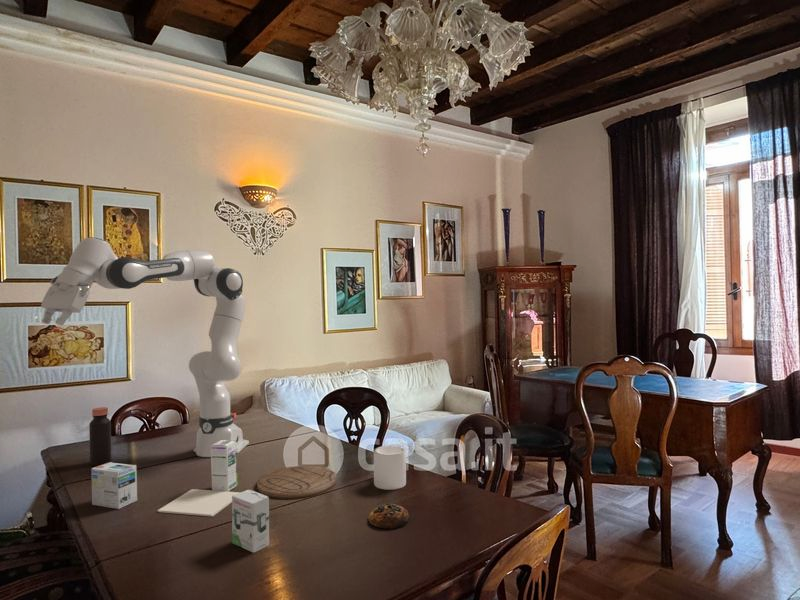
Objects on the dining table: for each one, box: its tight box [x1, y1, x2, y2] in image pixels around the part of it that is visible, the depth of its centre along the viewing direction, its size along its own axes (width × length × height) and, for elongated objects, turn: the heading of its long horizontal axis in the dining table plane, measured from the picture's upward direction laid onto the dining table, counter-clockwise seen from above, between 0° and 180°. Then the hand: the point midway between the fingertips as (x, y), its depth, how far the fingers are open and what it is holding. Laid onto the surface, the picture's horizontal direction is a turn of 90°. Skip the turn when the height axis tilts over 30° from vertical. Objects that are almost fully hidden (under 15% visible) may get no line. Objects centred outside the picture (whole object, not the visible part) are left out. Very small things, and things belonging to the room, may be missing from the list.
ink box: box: [231, 489, 270, 553], centre depth 122 cm, size 9×5×12 cm, turn 54°
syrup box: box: [210, 440, 239, 492], centre depth 159 cm, size 6×6×14 cm
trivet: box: [256, 465, 338, 500], centre depth 162 cm, size 25×25×2 cm
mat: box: [157, 488, 241, 517], centre depth 147 cm, size 16×17×1 cm
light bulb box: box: [91, 461, 138, 510], centre depth 148 cm, size 11×7×11 cm, turn 71°
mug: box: [373, 445, 407, 490], centre depth 163 cm, size 14×10×11 cm
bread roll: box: [367, 503, 410, 530], centre depth 135 cm, size 11×11×5 cm
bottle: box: [88, 406, 112, 467], centre depth 185 cm, size 7×7×20 cm
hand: (51, 323), depth 152 cm, fingers open, 8 cm apart
